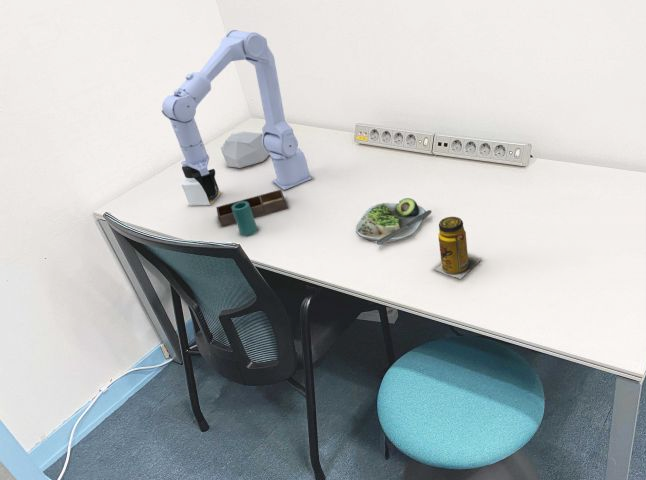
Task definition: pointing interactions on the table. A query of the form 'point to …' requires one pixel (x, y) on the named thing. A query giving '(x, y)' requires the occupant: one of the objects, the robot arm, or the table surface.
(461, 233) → the condiment
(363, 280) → the table surface
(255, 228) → the jar
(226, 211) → the rack
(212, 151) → the table surface
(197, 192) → the medicine bottle
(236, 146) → the rock
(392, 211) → the salad plate
